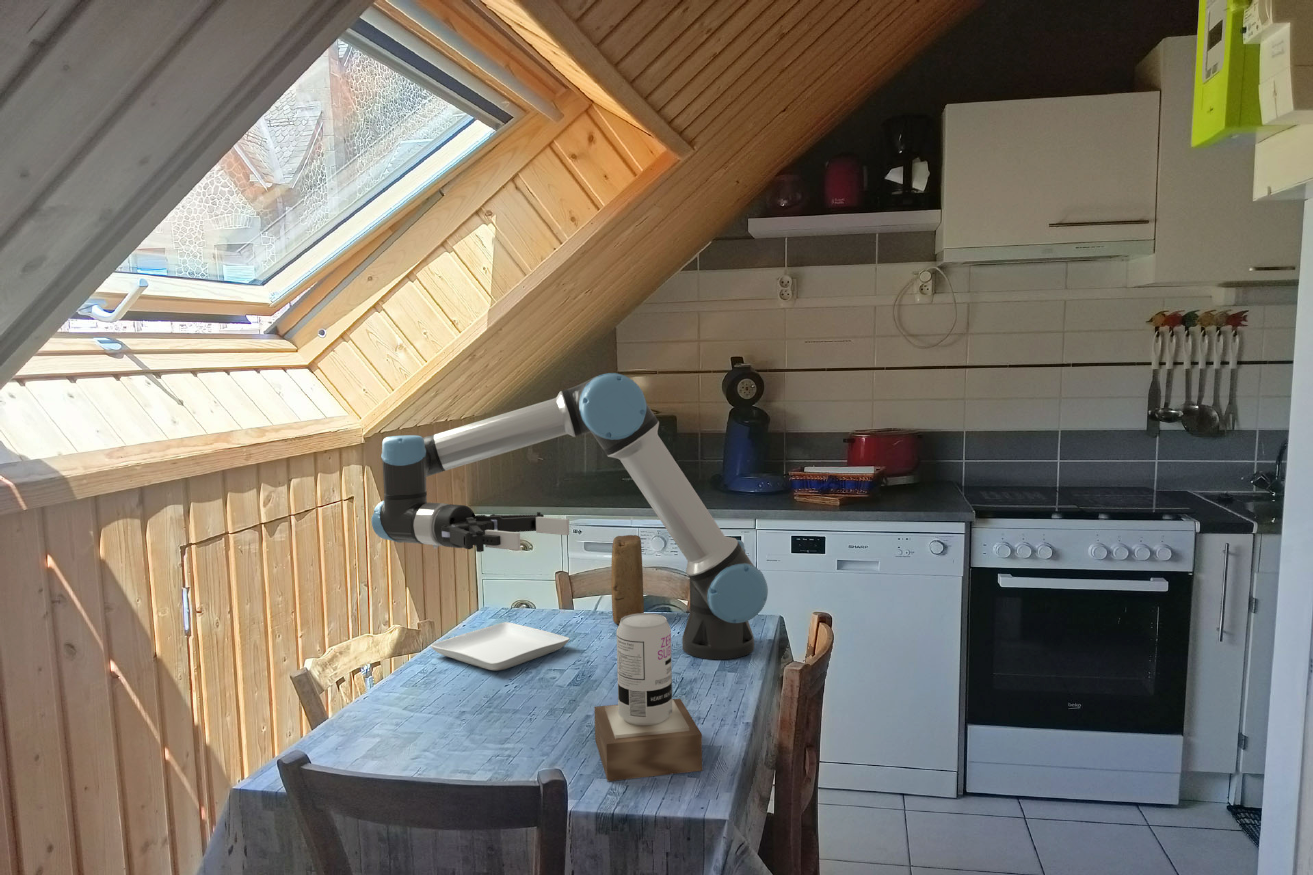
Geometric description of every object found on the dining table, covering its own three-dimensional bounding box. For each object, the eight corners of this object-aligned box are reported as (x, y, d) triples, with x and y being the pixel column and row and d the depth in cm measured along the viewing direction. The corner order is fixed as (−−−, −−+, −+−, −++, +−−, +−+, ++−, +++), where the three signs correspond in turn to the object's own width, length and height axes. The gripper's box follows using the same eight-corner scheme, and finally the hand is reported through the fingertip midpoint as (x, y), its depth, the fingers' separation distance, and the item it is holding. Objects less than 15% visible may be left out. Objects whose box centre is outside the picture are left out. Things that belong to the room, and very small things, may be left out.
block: (643, 627, 196) (641, 541, 194) (611, 627, 196) (609, 541, 194) (645, 613, 207) (643, 532, 205) (614, 614, 207) (612, 532, 205)
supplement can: (616, 707, 133) (614, 613, 132) (669, 704, 134) (667, 610, 133) (620, 728, 125) (618, 629, 124) (676, 725, 126) (674, 626, 125)
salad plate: (506, 634, 194) (505, 619, 193) (572, 652, 180) (572, 636, 180) (428, 659, 177) (427, 643, 177) (494, 681, 164) (494, 663, 164)
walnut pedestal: (681, 731, 138) (680, 695, 138) (702, 770, 125) (701, 730, 124) (595, 740, 136) (594, 703, 135) (607, 781, 122) (606, 740, 121)
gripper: (493, 533, 162) (586, 542, 152) (395, 560, 140) (496, 572, 130) (491, 494, 161) (585, 500, 151) (393, 515, 140) (494, 523, 129)
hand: (544, 534), depth 141 cm, fingers open, 13 cm apart
